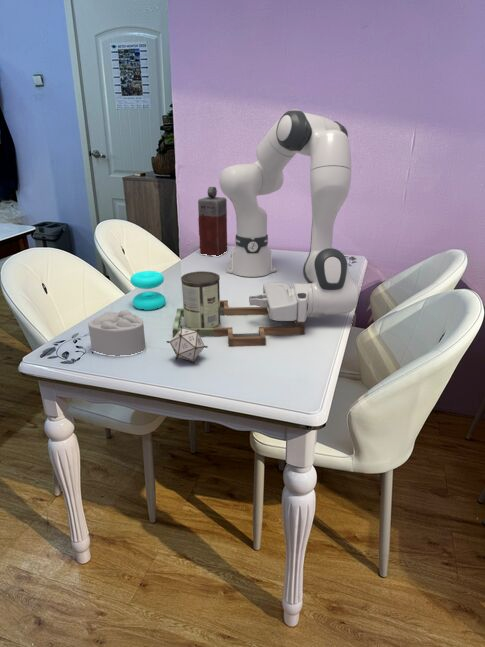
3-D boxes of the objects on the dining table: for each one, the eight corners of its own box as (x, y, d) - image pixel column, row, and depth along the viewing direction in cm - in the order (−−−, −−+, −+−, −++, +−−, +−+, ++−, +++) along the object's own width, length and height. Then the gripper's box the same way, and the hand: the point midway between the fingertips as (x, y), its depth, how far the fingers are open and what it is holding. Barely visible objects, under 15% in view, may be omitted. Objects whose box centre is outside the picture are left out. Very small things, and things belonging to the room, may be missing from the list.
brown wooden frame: (179, 307, 138) (178, 301, 138) (292, 305, 140) (292, 299, 139) (170, 347, 113) (170, 340, 113) (308, 344, 115) (309, 337, 114)
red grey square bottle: (205, 249, 203) (202, 184, 191) (227, 252, 198) (226, 186, 187) (195, 254, 195) (192, 187, 184) (218, 257, 191) (216, 188, 180)
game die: (182, 370, 110) (169, 332, 112) (214, 358, 110) (200, 320, 111) (172, 370, 101) (158, 329, 103) (207, 357, 101) (192, 315, 102)
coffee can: (196, 315, 133) (193, 269, 127) (227, 321, 129) (226, 274, 123) (176, 328, 124) (173, 279, 118) (209, 335, 120) (207, 285, 114)
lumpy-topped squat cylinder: (111, 335, 120) (107, 305, 117) (154, 342, 116) (151, 311, 113) (86, 352, 111) (81, 320, 108) (132, 360, 107) (128, 327, 104)
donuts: (153, 281, 130) (123, 277, 133) (155, 313, 134) (126, 309, 137) (169, 271, 139) (141, 268, 142) (171, 301, 143) (143, 298, 146)
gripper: (293, 277, 133) (247, 277, 132) (306, 301, 114) (251, 303, 114) (293, 297, 135) (247, 298, 135) (305, 324, 117) (251, 325, 116)
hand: (249, 300), depth 124 cm, fingers closed
